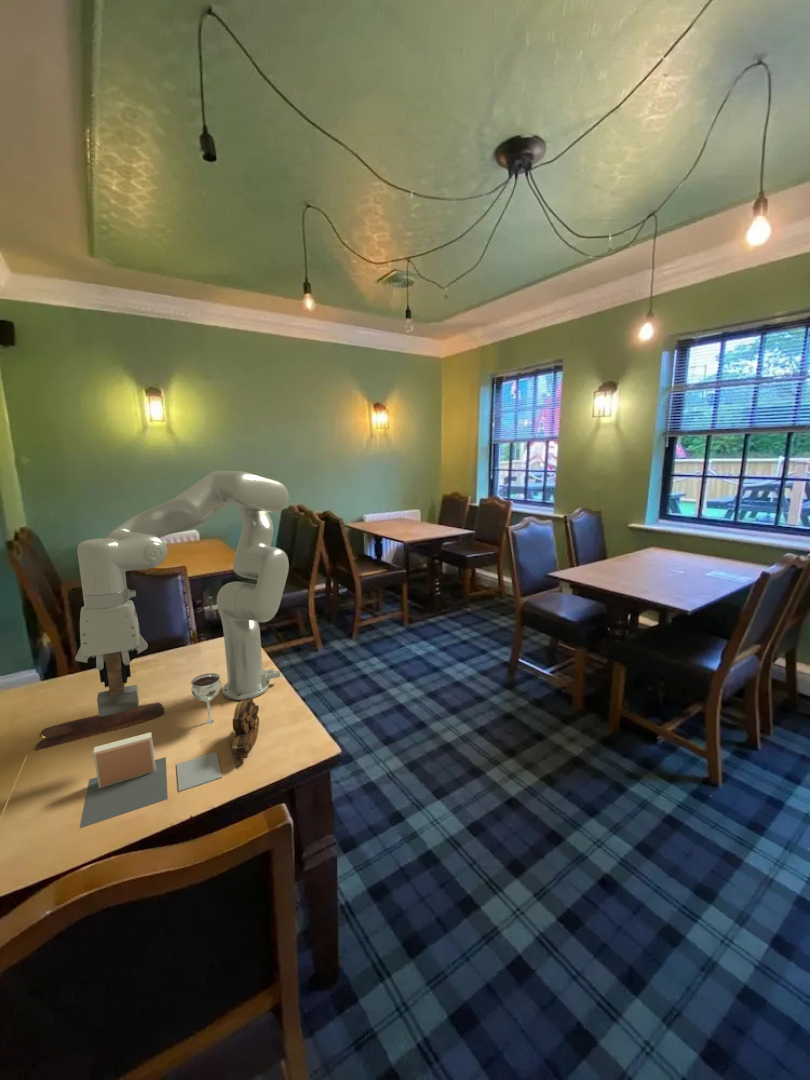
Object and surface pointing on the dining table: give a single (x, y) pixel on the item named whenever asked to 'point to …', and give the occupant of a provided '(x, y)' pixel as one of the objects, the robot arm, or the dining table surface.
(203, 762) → the pad
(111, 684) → the brown grey t-shaped piece
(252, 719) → the wooden carving
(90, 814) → the rubber mat
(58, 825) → the dining table surface
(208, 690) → the wineglass
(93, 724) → the wooden tablet
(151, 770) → the tile
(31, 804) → the dining table surface
